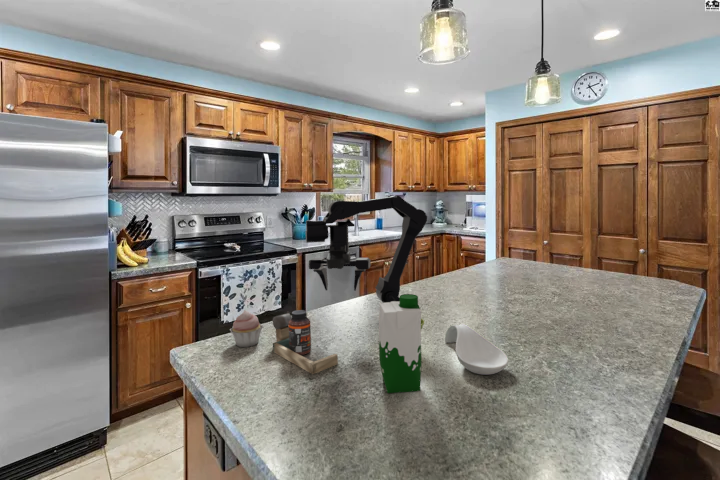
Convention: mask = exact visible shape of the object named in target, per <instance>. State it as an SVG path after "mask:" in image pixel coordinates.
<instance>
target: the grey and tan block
mask: <svg viewBox="0 0 720 480" xmlns="http://www.w3.org/2000/svg"><path fill="white" fill-rule="evenodd" d="M291 319H292V314H290V311H286V313H284V314H279V315H276V316H273V317H272V325H273V328H274V329H275V338H276V341H275V342H278V341H281V340H284V339H288V338H289V321H290V320H291Z"/></svg>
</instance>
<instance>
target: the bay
mask: <svg viewBox="0 0 720 480" xmlns="http://www.w3.org/2000/svg"><path fill="white" fill-rule="evenodd" d="M272 353H274V354H276V355H278V356H280V357H281V358H283V359H285V360H286V361H288V362H290V363H292V364H294V365H296V366H297V367H299V368H301V369H303V370H304V371H306V372H307V373H308V374H309V373H310V374H312V375H315V374H317V373H319V372H322V371H324V370H325V371H326V370H327V369H329V368H332V367H335V366H337V365H339V361H338V358H339V356H338V354H337V353H333V354H330V355H328V356H326V357H323V358H319V359H318V360H315V361H313V360H311V359H309V358H307V357H305V356H304V355H299V354H297V353H296V352H294V351H292V350H290V349H289V338H288V339H284V340H281V341H278V342H276V341H275V342H272Z"/></svg>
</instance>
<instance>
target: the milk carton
mask: <svg viewBox="0 0 720 480" xmlns="http://www.w3.org/2000/svg"><path fill="white" fill-rule="evenodd" d="M399 299H400V301H397V302H396V301H391V302H386V303H383V302H379V307H378V308H379V309H378V310H379V312H378V353H379V357H378V359H379V366H380V371H381V375H382V376H381V377H382V380H383V383H384V386H385V390H386V393H387V394H396V393H397V394H398V393H411V392H412V393H413V392H420V391H421V381H422V380H421V378H422V329H421V318H422V310H421V308H420V305H419V296H418V295H417V294H413V293H411V294H410V293H406V294H405V293H404V294H401V295H400V294H399Z"/></svg>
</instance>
